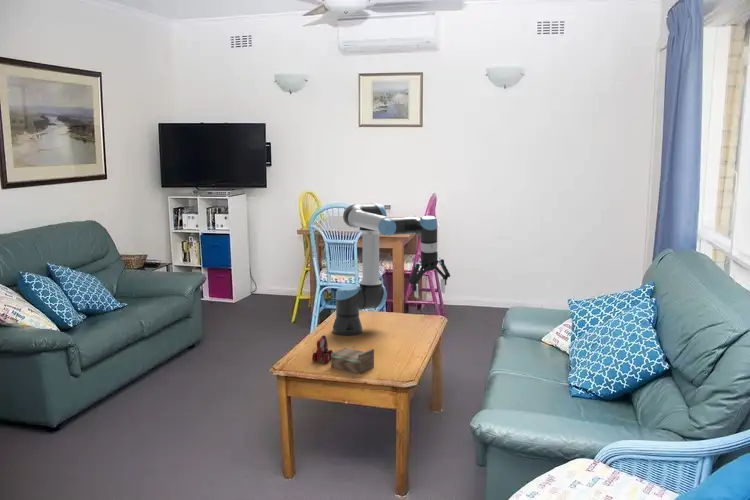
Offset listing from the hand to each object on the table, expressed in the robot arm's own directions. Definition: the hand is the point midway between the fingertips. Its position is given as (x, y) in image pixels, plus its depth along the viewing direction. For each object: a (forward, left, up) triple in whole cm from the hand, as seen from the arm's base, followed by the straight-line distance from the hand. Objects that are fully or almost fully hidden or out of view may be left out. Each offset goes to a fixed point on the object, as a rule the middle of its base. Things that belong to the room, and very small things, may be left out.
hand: (429, 294), depth 285 cm
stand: (-14, -41, -26) cm, 50 cm away
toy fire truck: (-30, -41, -26) cm, 57 cm away
